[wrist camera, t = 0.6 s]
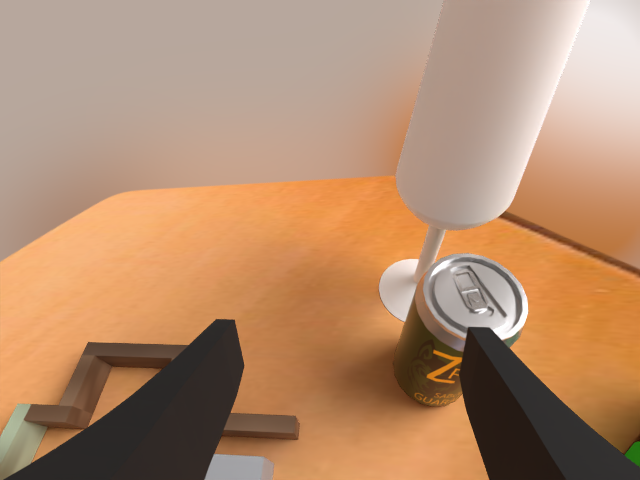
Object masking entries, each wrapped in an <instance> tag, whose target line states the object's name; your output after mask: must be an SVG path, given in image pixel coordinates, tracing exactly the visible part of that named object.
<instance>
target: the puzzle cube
mask: <svg viewBox="0 0 640 480" xmlns="http://www.w3.org/2000/svg"><path fill="white" fill-rule="evenodd" d="M625 456H626V457H627V458H628V459H630V460H631V461H632V462H634V463H635V464H636V465H637V466H639V467H640V441H638V442H634V444H633V445H632V446H631V447H630V448H629V450H628V451H627V452H626V453H625Z"/></svg>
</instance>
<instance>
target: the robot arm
mask: <svg viewBox="0 0 640 480" xmlns="http://www.w3.org/2000/svg"><path fill="white" fill-rule="evenodd" d="M243 369H244V362H243V357H242V352H241V348H240V343H239V338H238V333H237V329H236V324H235V320H227V319H216V320H215V321H214V322H213V323H212V324H211V325H210V326H209V327H207V328H206V329H205V330H204V331H203V332H202V333H201V334H200V335H199V336H198V337H197V338H196V339H195V340H194V341H193V342H192V343H191V344H190V345H188V346H187V347H186V348H185V349H184V350H183V351H182V352H181V353H180V354H179V355H178V356H177V357H176V358H174V359H173V360H172V361H171V362H170V363H169V364H168V365H167V366H166V367H165V368H163V369H162V370H161V371H160V372H159V373H158V374H156V375H155V376H154V377H153V378H152V379H150V380H149V381H148V382H147V383H146V384H145V385H143V386H142V387H141V388H140V389H139V390H138V391H136V392H135V393H134V394H133V395H131V396H130V397H129V398H127V399H126V400H125V401H124V402H122V403H121V404H120V405H118V406H117V407H116V408H114V409H113V410H112V411H110V412H109V413H107V414H106V415H105V416H103V417H102V418H101V419H99V420H98V421H96V422H95V423H94V424H92V425H91V426H89V427H88V428H86V429H85V430H83V431H81V432H80V433H78V434H77V435H75V436H74V437H72V438H71V439H69V440H68V441H66V442H65V443H63V444H62V445H60V446H59V447H57V448H56V449H54V450H52V451H51V452H49V453H48V454H46V455H44V456H43V457H41V458H39V459H38V460H36V461H34V462H33V463H31V464H29V465H28V466H26V467H24V468H23V469H21V470H19V471H17V472H16V473H14V474H12V475H10V476H9V477H7V478H5V479H3V480H205V477H206V474H207V471H208V468H209V466H210V463H211V461H212V458H213V456H214V453H215V451H216V448H217V445H218V443H219V440H220V438H221V435H222V433H223V430H224V428H225V425H226V422H227V420H228V417H229V415H230V412H231V409H232V407H233V404H234V402H235V399H236V396H237V392H238V389H239V385H240V381H241V377H242V373H243ZM459 378H460V383H461V388H462V393H463V398H464V402H465V407H466V411H467V414H468V417H469V420H470V423H471V426H472V429H473V432H474V435H475V438H476V441H477V444H478V447H479V450H480V453H481V456H482V459H483V462H484V465H485V468H486V471H487V474H488V477H489V480H640V467H639V466H637V465H636V464H635V463H634V462H632V461H631V460H630V459H628V458H627V457H626V456H625V455H624V454H622V453H621V452H620V451H619V450H617V449H616V448H615V447H614V446H613V445H611V444H610V443H609V442H608V441H606V440H605V439H604V438H603V437H602V436H600V435H599V434H598V433H597V432H596V431H594V430H593V429H592V428H591V427H590V426H589V425H587V424H586V423H585V422H584V421H583V420H582V419H581V418H580V417H578V416H577V415H576V414H575V413H574V412H573V411H572V410H571V409H570V408H569V407H568V406H566V405H565V404H564V403H563V402H562V401H561V400H560V399H559V398H558V397H557V396H556V395H555V394H554V393H553V392H552V391H551V390H550V389H549V388H548V387H547V386H546V385H545V384H544V383H543V382H542V381H541V380H540V379H539V378H538V377H537V376H536V375H535V374H534V373H533V372H532V371H531V370H530V369H529V368H528V367H527V366H526V365H525V364H524V363H523V362H522V361H521V360H520V359H519V358H518V357H517V356H516V355H515V354H514V353H513V352H512V350H511V349H510V348H509V347H508V346H507V345H506V344H505V343H504V342H503V341H502V340H501V339H500V338H499V337H498V335H497V334H496V333H495V332H494V331H493V330H492V329H491V328H490V327H468V330H467V335H466V341H465V346H464V351H463V356H462V362H461V367H460V372H459Z"/></svg>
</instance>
